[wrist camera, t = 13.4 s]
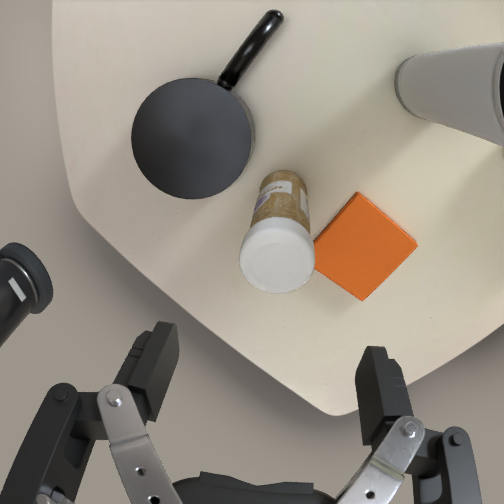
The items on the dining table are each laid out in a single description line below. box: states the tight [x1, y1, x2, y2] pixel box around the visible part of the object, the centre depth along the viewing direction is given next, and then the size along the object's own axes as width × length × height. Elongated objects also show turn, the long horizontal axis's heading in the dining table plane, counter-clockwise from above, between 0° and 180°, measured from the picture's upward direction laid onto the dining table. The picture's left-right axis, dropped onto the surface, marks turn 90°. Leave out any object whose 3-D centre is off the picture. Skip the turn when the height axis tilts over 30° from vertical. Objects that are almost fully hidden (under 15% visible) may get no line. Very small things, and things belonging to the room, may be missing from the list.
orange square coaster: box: [313, 192, 418, 301], centre depth 32 cm, size 9×9×1 cm
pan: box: [131, 10, 284, 199], centre depth 25 cm, size 11×19×3 cm, turn 146°
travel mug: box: [395, 42, 504, 147], centre depth 15 cm, size 6×7×20 cm
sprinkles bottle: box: [239, 171, 315, 294], centre depth 25 cm, size 5×5×14 cm
